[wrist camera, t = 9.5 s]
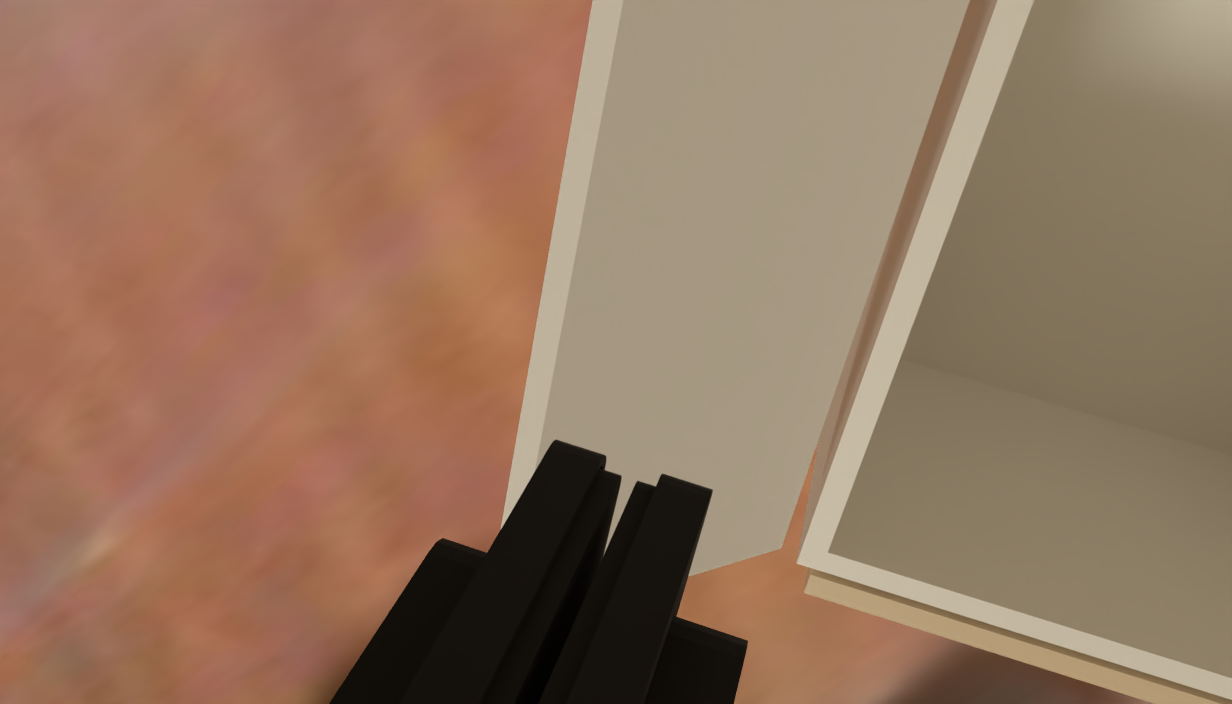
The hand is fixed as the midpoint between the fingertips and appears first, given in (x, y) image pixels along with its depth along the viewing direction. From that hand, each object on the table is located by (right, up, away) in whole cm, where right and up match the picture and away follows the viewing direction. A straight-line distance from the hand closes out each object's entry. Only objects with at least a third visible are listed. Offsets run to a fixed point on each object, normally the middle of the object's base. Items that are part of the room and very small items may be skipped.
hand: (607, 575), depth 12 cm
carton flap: (+3, +5, +9) cm, 10 cm away
